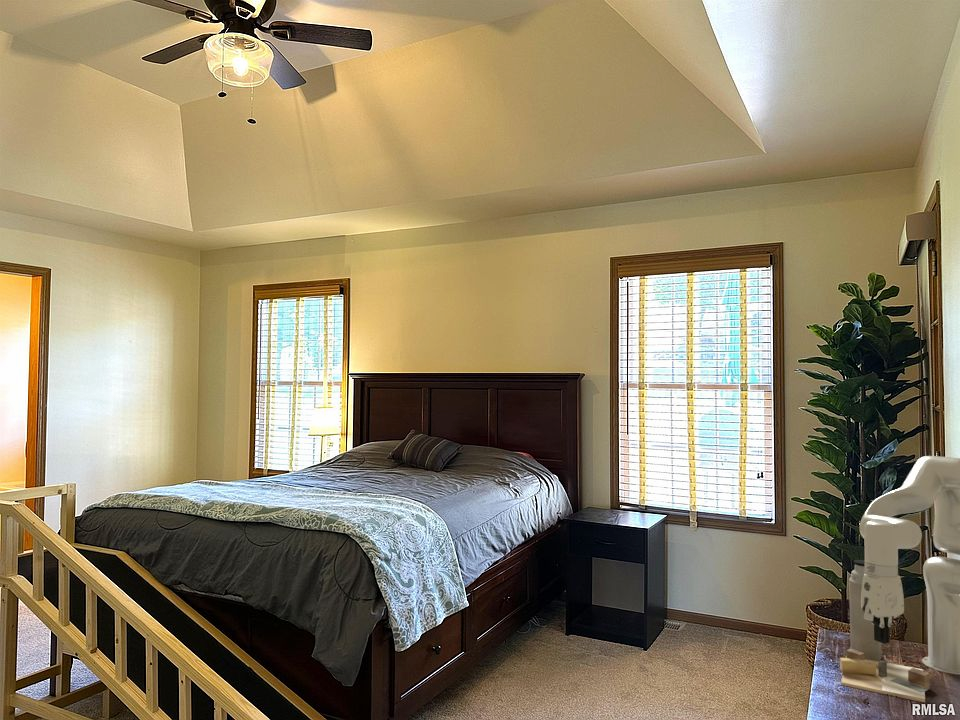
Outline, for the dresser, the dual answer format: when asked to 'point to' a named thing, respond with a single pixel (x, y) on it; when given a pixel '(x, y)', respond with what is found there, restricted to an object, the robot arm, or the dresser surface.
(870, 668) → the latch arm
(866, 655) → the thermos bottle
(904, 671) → the door board
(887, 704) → the dresser surface
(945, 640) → the robot arm
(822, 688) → the dresser surface
